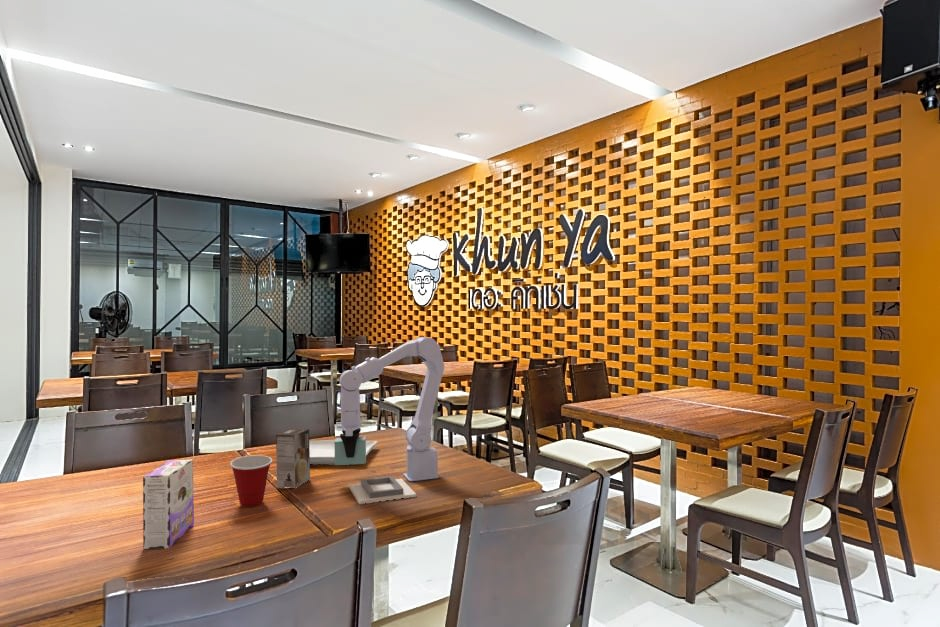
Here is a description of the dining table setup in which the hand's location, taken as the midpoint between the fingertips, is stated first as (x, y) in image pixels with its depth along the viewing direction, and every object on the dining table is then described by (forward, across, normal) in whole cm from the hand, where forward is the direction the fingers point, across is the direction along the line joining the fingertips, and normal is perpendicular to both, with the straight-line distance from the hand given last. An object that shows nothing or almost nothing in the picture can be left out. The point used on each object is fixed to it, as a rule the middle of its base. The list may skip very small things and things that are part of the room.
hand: (350, 454), depth 171 cm
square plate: (+9, -34, -8) cm, 36 cm away
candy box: (+9, +34, -39) cm, 53 cm away
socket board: (+9, +9, +9) cm, 16 cm away
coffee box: (+9, -3, -17) cm, 20 cm away
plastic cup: (+9, +14, -26) cm, 30 cm away
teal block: (+2, 0, 0) cm, 2 cm away
